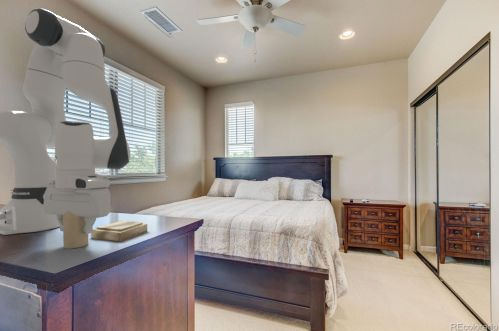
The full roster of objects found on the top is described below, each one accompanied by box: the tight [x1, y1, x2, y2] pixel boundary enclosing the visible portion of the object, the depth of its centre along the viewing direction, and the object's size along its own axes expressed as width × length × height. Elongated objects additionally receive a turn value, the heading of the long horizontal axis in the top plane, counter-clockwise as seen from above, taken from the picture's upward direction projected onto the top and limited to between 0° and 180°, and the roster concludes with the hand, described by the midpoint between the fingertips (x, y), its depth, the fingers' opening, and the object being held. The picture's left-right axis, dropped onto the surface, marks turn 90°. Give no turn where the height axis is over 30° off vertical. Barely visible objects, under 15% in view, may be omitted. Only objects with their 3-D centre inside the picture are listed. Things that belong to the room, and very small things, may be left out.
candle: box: [62, 211, 89, 250], centre depth 67 cm, size 6×6×10 cm
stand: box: [90, 220, 148, 242], centre depth 77 cm, size 11×11×3 cm
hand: (76, 232), depth 67 cm, fingers open, 7 cm apart
